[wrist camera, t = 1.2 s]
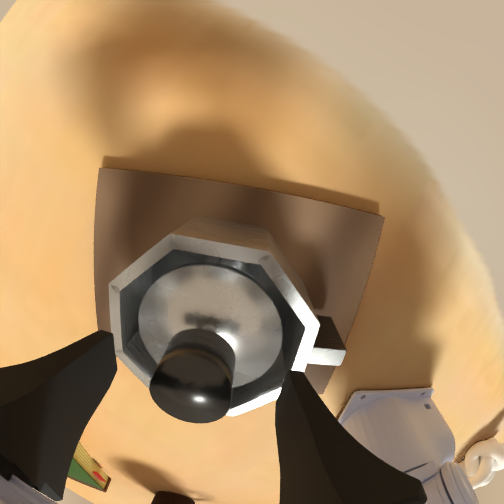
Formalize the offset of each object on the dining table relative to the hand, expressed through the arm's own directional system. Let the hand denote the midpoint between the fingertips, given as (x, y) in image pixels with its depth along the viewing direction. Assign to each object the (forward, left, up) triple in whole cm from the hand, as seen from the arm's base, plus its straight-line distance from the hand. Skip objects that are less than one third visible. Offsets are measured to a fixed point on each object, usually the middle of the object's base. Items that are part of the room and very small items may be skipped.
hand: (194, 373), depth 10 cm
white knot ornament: (-50, +27, -8) cm, 57 cm away
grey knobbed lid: (0, 0, -4) cm, 4 cm away
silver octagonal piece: (-1, 0, -7) cm, 7 cm away
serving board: (0, 0, -8) cm, 8 cm away
